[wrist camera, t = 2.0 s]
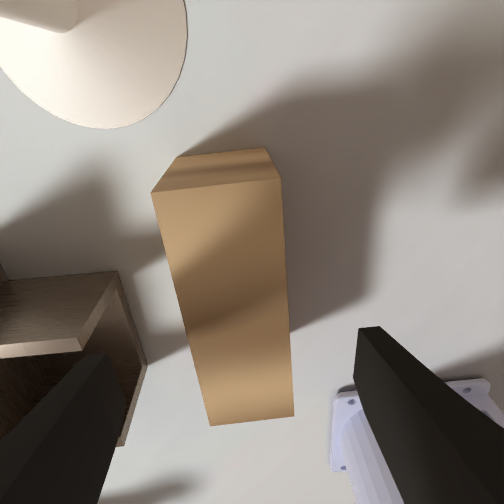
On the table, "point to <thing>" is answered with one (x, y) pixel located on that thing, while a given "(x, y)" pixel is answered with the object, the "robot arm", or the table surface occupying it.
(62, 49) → the champagne flute
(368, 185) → the table surface
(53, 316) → the bracket
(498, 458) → the robot arm
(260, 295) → the wooden block
